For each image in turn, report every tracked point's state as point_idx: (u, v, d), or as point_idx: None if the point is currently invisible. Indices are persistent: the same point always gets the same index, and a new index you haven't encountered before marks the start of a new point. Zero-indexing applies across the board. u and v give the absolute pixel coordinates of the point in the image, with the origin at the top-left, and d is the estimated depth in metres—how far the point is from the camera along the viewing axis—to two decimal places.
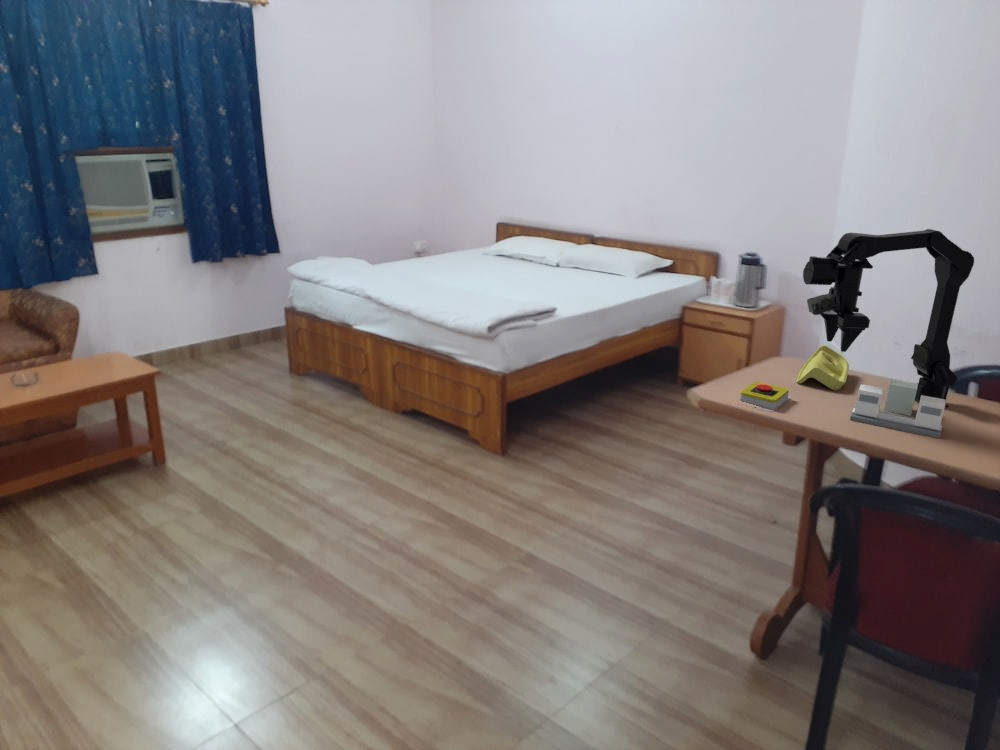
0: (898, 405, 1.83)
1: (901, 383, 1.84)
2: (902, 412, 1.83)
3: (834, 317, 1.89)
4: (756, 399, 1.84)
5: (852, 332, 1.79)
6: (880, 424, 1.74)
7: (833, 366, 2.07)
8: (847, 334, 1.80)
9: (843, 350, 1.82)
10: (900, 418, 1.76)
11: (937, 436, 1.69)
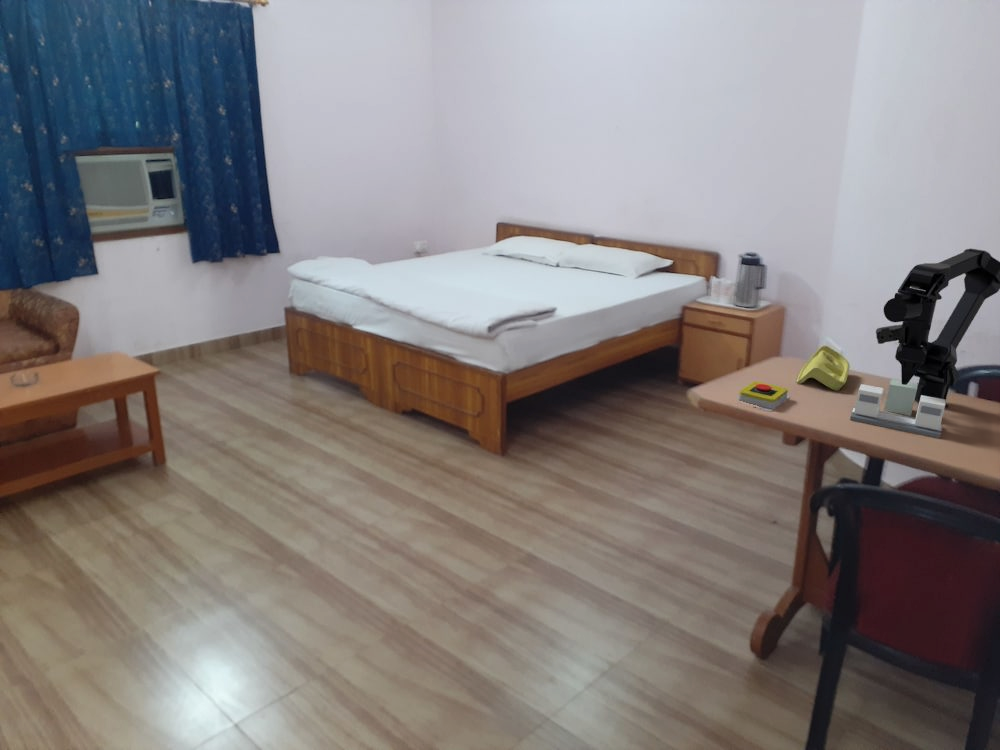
0: (898, 405, 1.83)
1: (901, 383, 1.84)
2: (902, 412, 1.83)
3: None
4: (755, 399, 1.84)
5: (912, 365, 1.76)
6: (880, 424, 1.74)
7: (834, 366, 2.07)
8: (907, 367, 1.77)
9: (903, 383, 1.79)
10: (900, 418, 1.76)
11: (937, 436, 1.69)
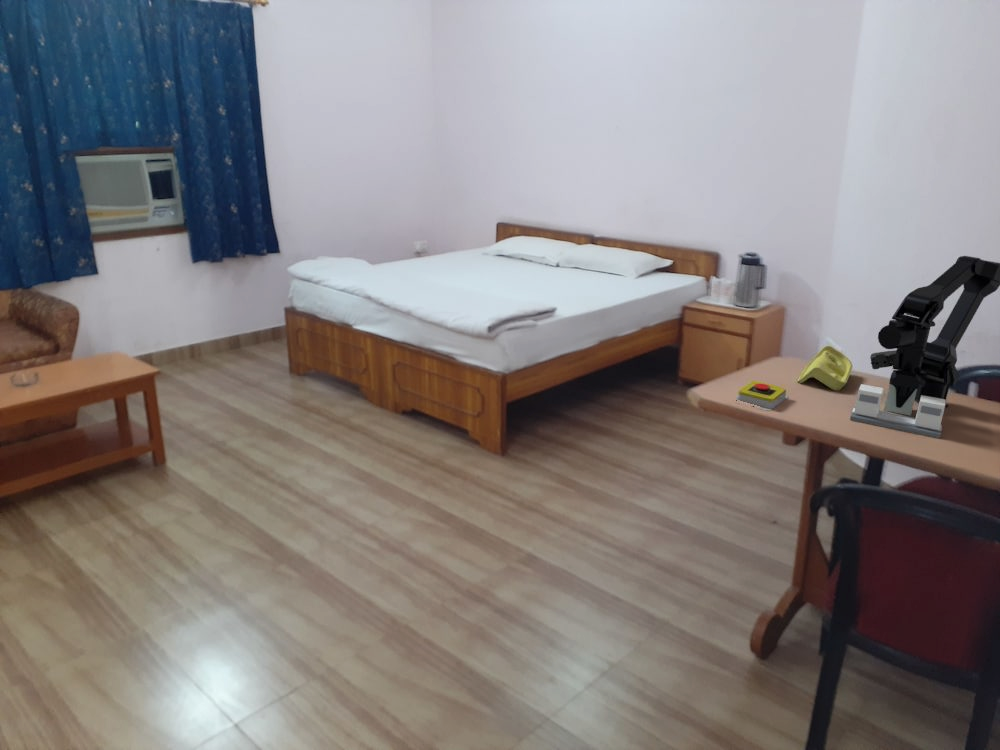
0: None
1: None
2: (902, 412, 1.83)
3: None
4: (753, 398, 1.84)
5: (906, 389, 1.80)
6: (880, 424, 1.74)
7: (836, 366, 2.07)
8: (901, 390, 1.80)
9: (898, 406, 1.82)
10: (900, 418, 1.76)
11: (937, 436, 1.69)
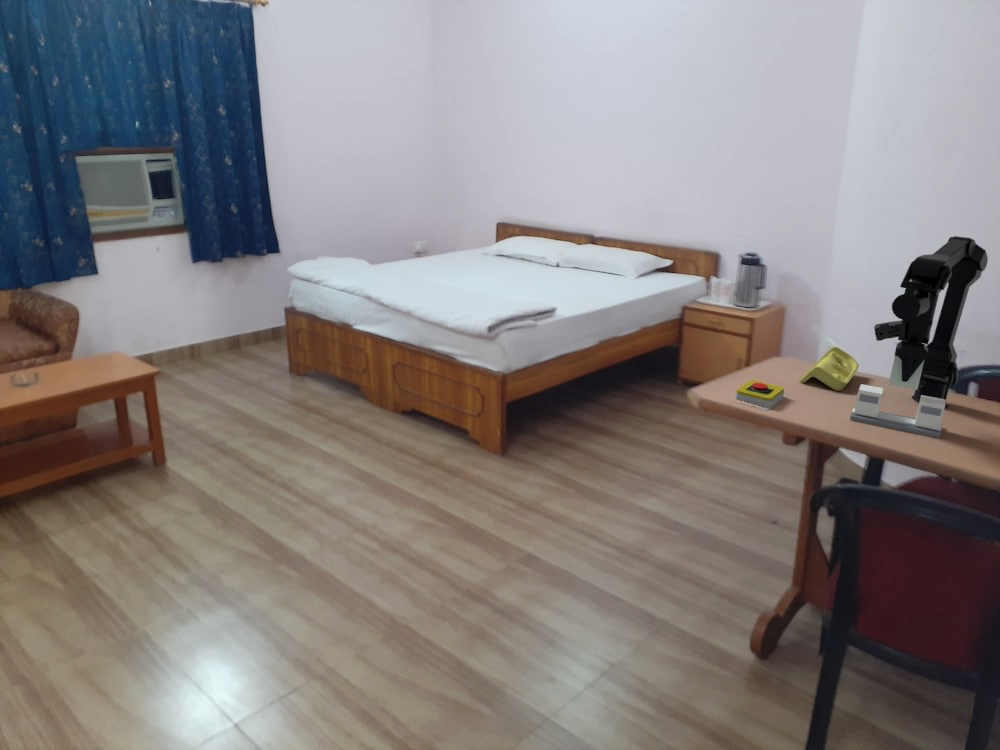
0: None
1: None
2: (908, 386, 1.71)
3: None
4: (751, 398, 1.85)
5: (913, 361, 1.68)
6: (880, 424, 1.74)
7: (841, 367, 2.06)
8: (907, 363, 1.68)
9: (904, 380, 1.70)
10: (900, 418, 1.76)
11: (937, 436, 1.69)
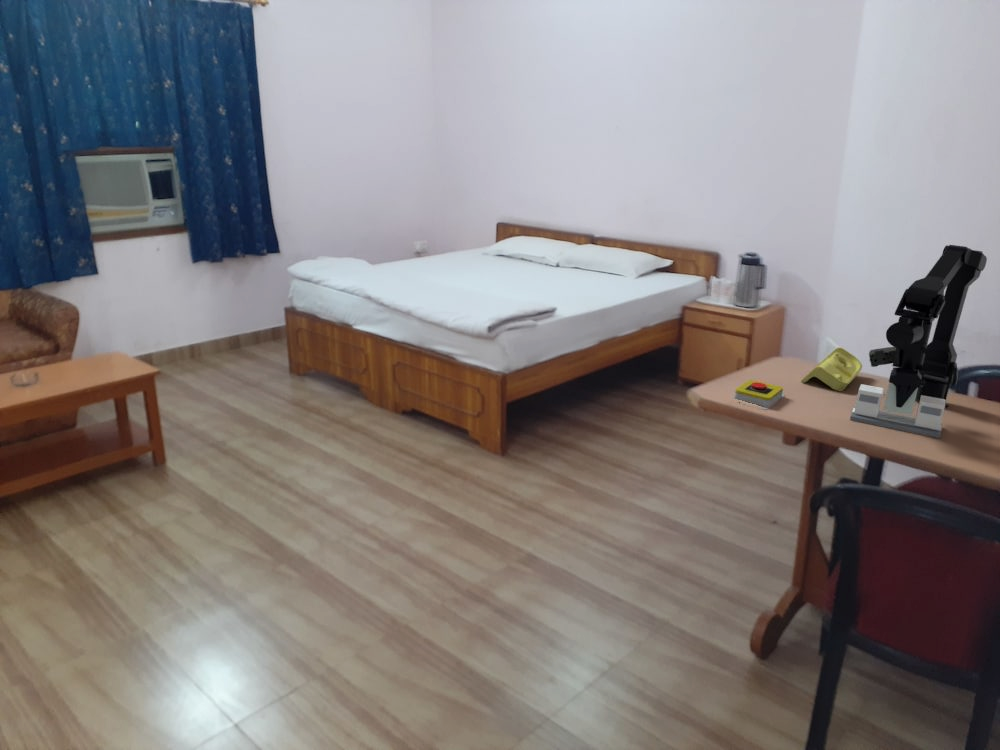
0: None
1: None
2: (902, 411, 1.73)
3: None
4: (750, 397, 1.85)
5: (907, 388, 1.70)
6: (880, 424, 1.74)
7: (844, 368, 2.06)
8: (902, 389, 1.70)
9: (898, 405, 1.72)
10: (900, 418, 1.76)
11: (937, 436, 1.69)
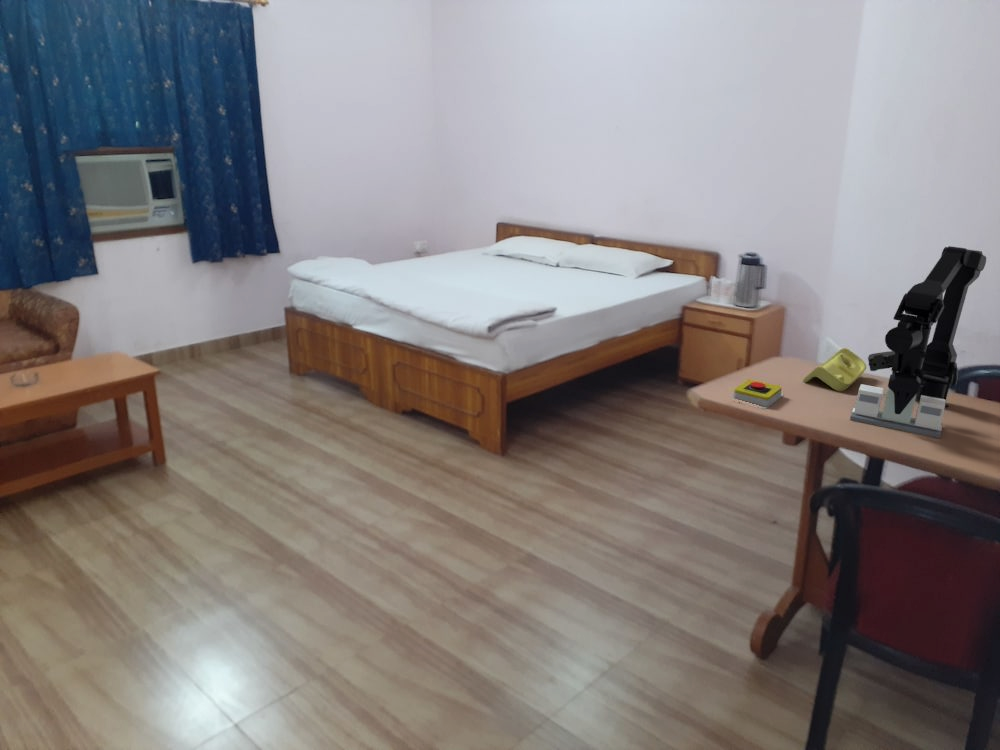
0: None
1: None
2: (900, 420, 1.73)
3: None
4: (749, 397, 1.85)
5: (905, 394, 1.68)
6: (880, 424, 1.74)
7: (847, 368, 2.05)
8: (900, 396, 1.69)
9: (897, 412, 1.71)
10: None
11: (937, 436, 1.69)
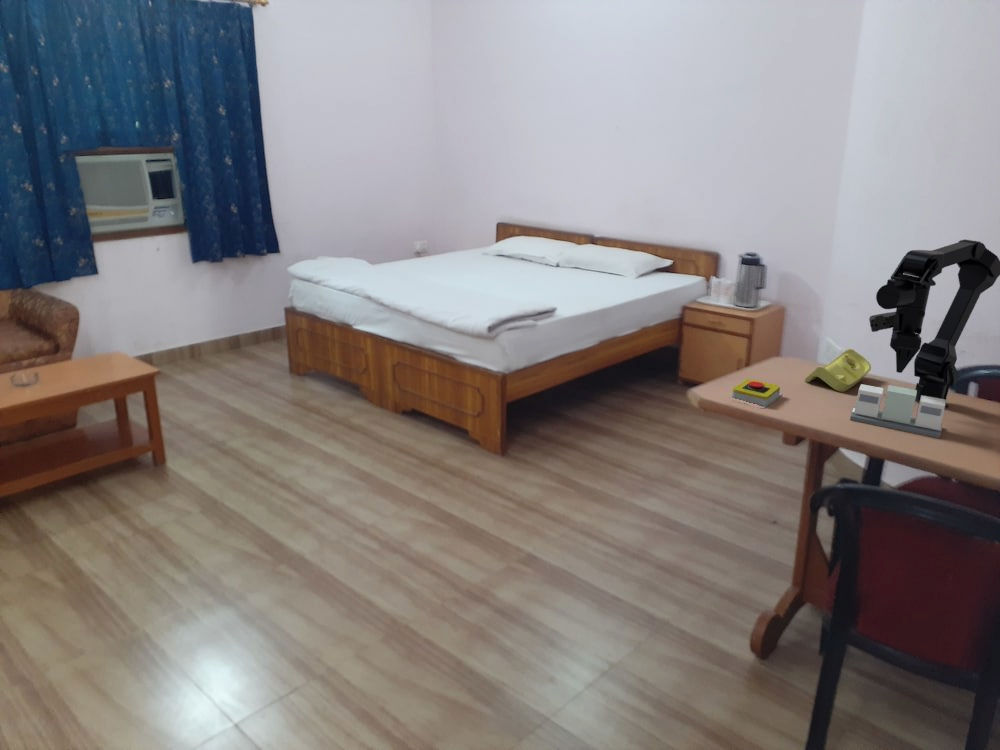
0: (896, 412, 1.73)
1: (899, 389, 1.74)
2: (900, 420, 1.73)
3: None
4: (748, 396, 1.86)
5: (907, 353, 1.73)
6: (880, 424, 1.74)
7: (851, 369, 2.05)
8: (902, 354, 1.74)
9: (898, 371, 1.76)
10: None
11: (937, 436, 1.69)
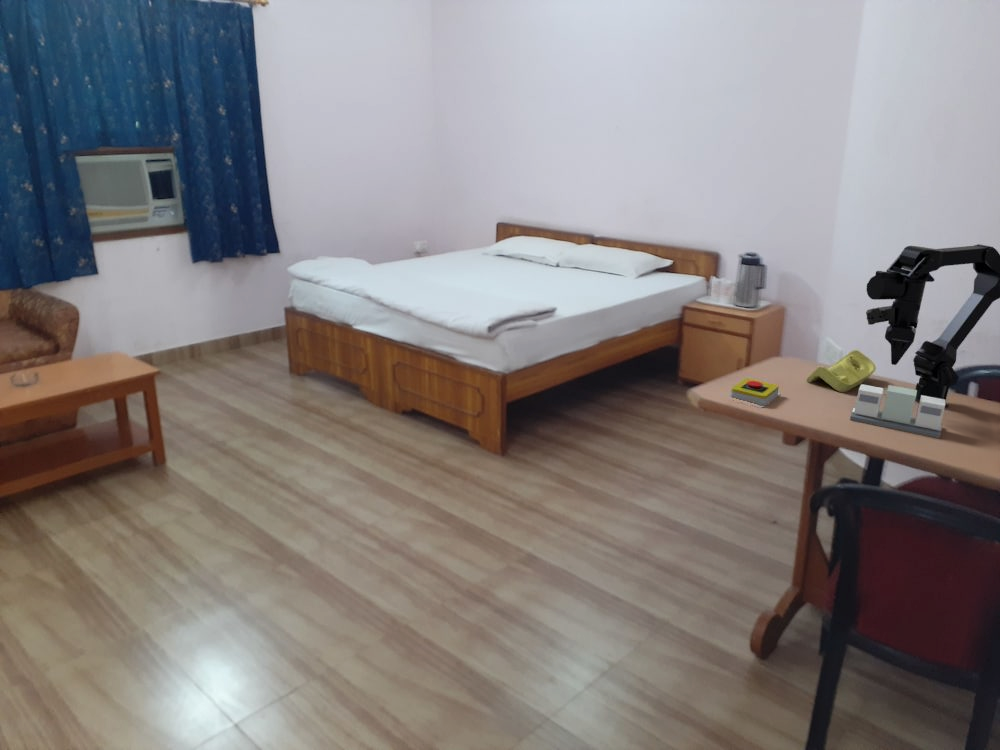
0: (896, 412, 1.73)
1: (899, 389, 1.74)
2: (900, 420, 1.73)
3: None
4: (746, 395, 1.86)
5: (901, 345, 1.78)
6: (880, 424, 1.74)
7: (854, 370, 2.04)
8: (896, 347, 1.79)
9: (893, 363, 1.81)
10: None
11: (937, 436, 1.69)
